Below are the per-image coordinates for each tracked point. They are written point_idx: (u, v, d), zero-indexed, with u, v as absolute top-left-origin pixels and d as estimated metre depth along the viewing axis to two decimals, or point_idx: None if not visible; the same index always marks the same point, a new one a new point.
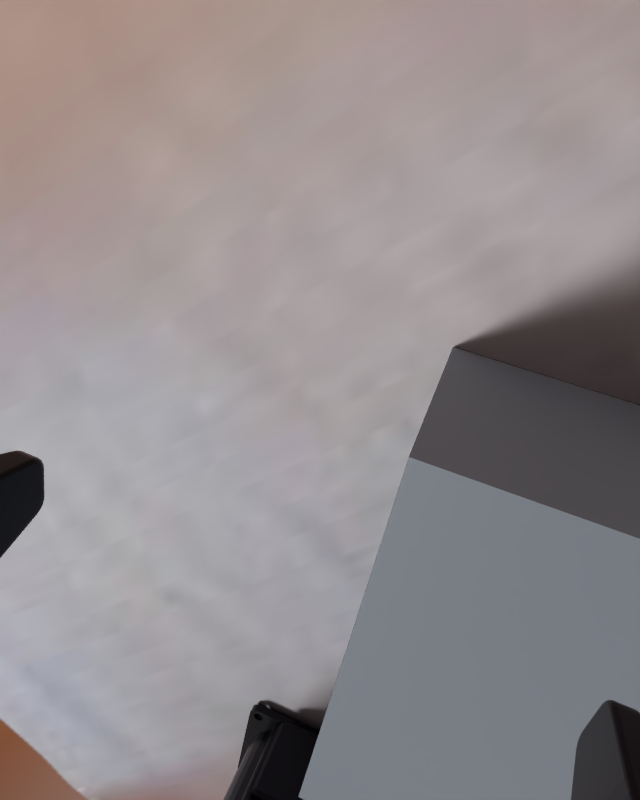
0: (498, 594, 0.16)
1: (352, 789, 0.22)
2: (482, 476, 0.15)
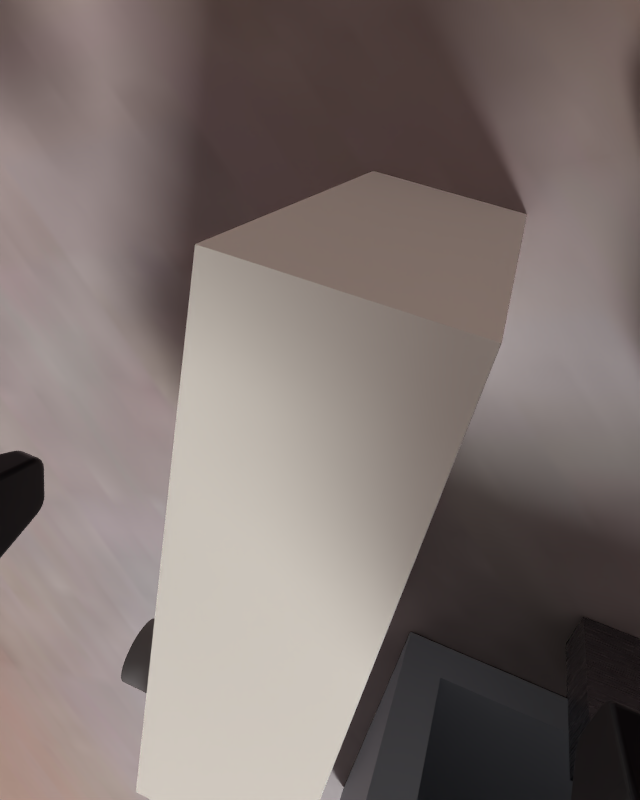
0: None
1: None
2: None
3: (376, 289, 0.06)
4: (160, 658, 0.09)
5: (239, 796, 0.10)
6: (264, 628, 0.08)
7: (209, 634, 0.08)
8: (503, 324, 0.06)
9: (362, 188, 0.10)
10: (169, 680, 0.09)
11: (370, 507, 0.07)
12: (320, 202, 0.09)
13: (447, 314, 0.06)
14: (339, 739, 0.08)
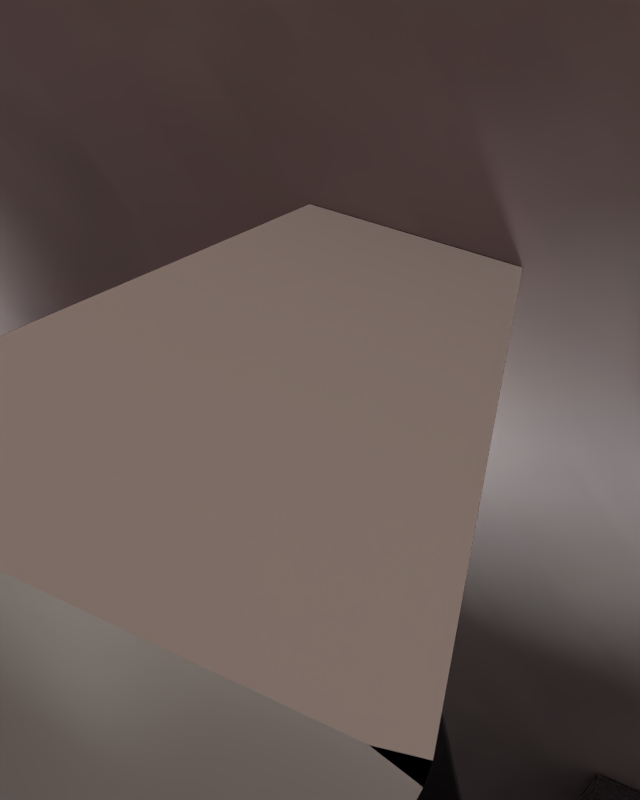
0: None
1: None
2: None
3: (152, 559, 0.02)
4: None
5: None
6: None
7: None
8: (447, 653, 0.02)
9: (274, 239, 0.07)
10: None
11: None
12: (178, 276, 0.05)
13: (309, 641, 0.02)
14: None
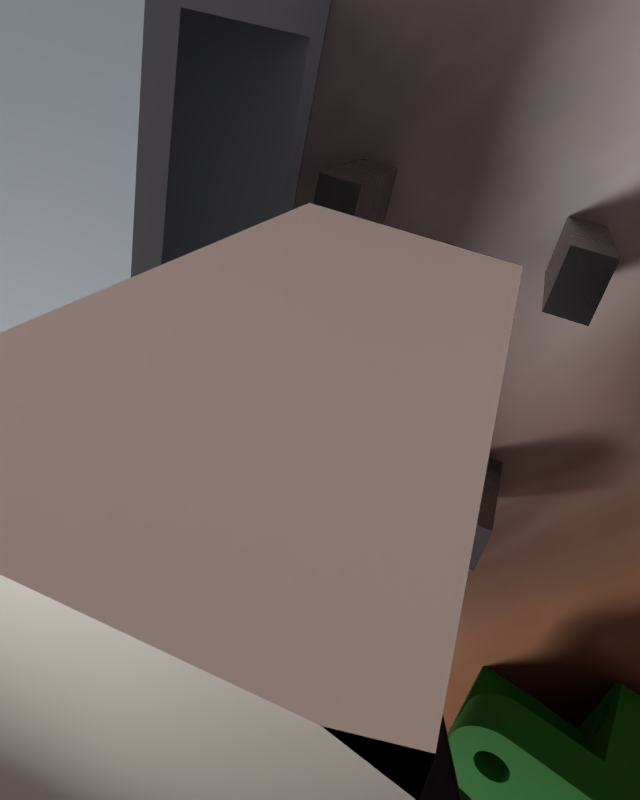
0: None
1: None
2: None
3: (150, 559, 0.02)
4: None
5: None
6: None
7: None
8: (448, 655, 0.02)
9: (273, 237, 0.07)
10: None
11: None
12: (177, 274, 0.05)
13: (306, 641, 0.02)
14: None
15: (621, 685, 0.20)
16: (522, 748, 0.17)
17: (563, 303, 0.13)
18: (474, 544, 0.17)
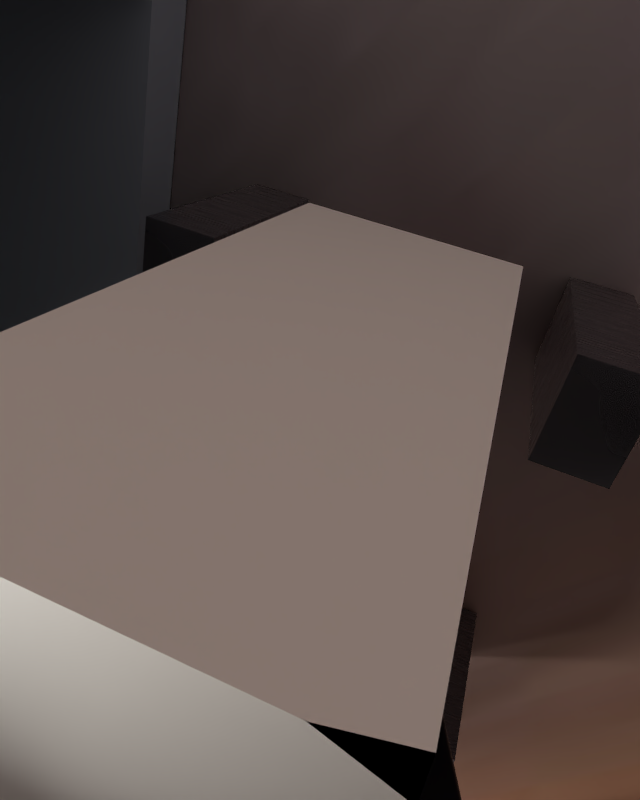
0: None
1: None
2: None
3: (146, 560, 0.02)
4: None
5: None
6: None
7: None
8: (449, 657, 0.02)
9: (273, 237, 0.07)
10: None
11: None
12: (177, 274, 0.05)
13: (309, 643, 0.02)
14: None
15: None
16: None
17: (564, 449, 0.07)
18: None
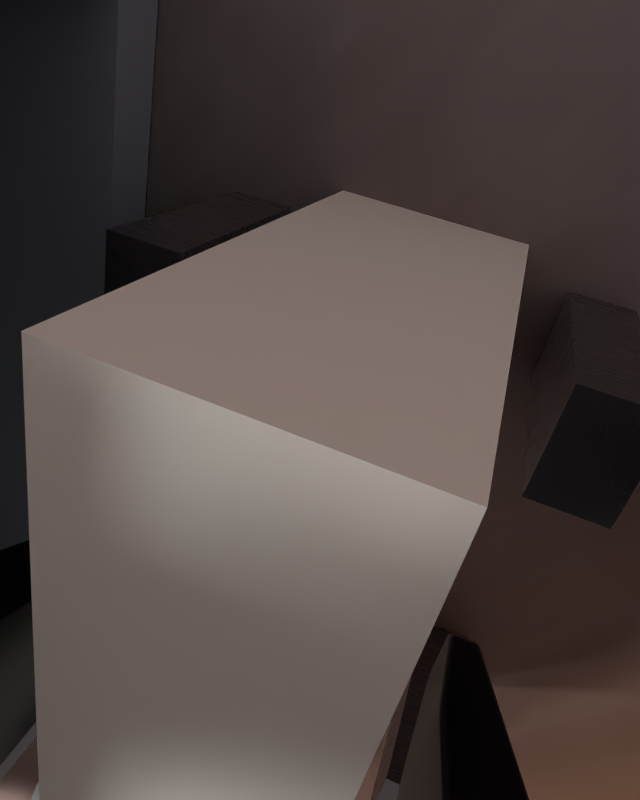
0: None
1: None
2: None
3: (297, 403, 0.04)
4: None
5: None
6: None
7: None
8: (492, 460, 0.04)
9: (322, 216, 0.08)
10: None
11: (300, 701, 0.04)
12: (257, 241, 0.06)
13: (404, 449, 0.04)
14: None
15: None
16: None
17: (562, 486, 0.07)
18: None
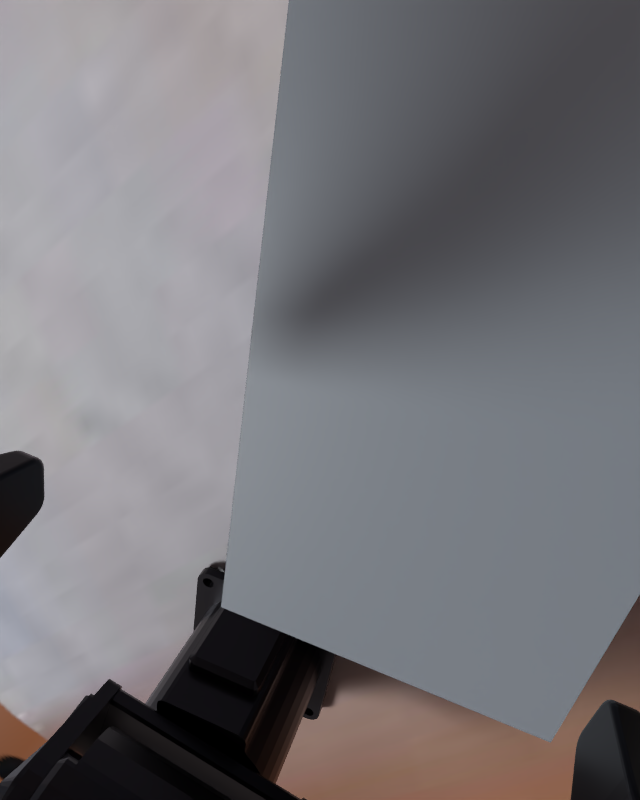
0: (529, 18, 0.08)
1: (297, 575, 0.14)
2: None
3: None
4: None
5: None
6: None
7: None
8: None
9: None
10: None
11: None
12: None
13: None
14: None
15: None
16: None
17: None
18: None
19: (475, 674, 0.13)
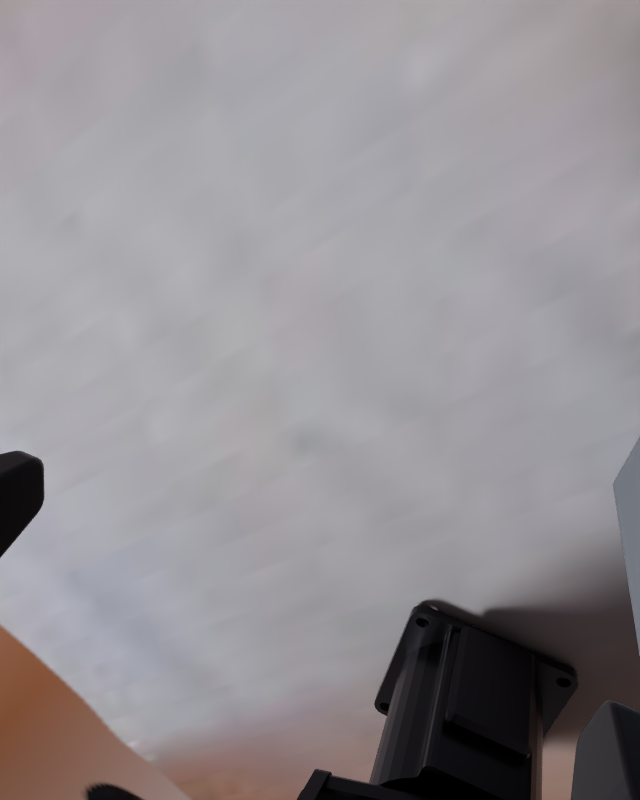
0: None
1: None
2: None
3: None
4: None
5: None
6: None
7: None
8: None
9: None
10: None
11: None
12: None
13: None
14: None
15: None
16: None
17: None
18: None
19: None
